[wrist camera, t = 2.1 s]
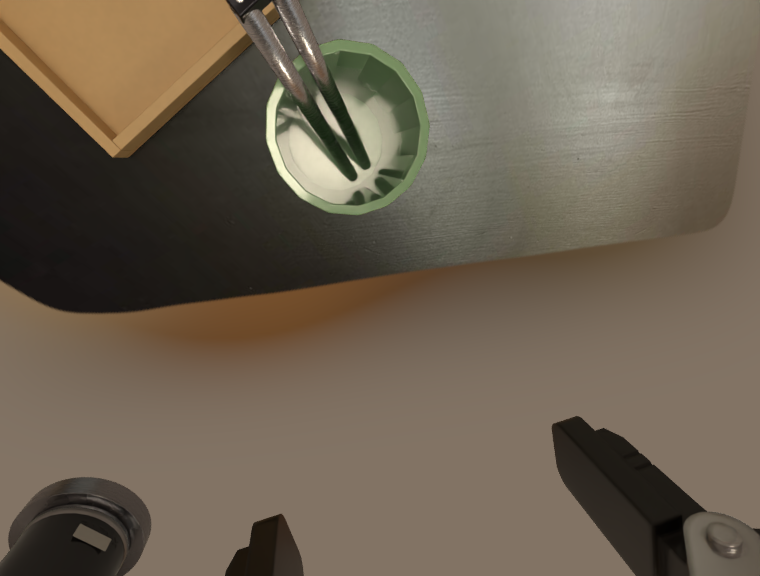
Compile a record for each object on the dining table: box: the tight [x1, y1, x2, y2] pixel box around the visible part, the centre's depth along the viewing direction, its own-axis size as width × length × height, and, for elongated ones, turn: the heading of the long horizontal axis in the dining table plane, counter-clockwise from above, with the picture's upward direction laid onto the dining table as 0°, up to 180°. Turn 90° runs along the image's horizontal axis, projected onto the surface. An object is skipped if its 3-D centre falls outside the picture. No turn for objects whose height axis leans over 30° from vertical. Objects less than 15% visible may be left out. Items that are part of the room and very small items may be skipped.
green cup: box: [266, 39, 430, 215], centre depth 27 cm, size 8×8×13 cm
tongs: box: [226, 0, 371, 181], centre depth 24 cm, size 2×9×18 cm, turn 39°
